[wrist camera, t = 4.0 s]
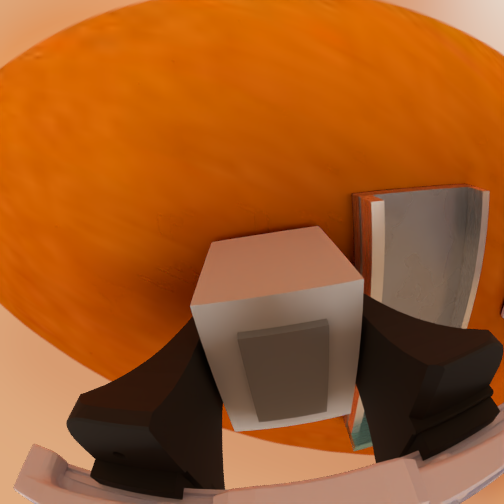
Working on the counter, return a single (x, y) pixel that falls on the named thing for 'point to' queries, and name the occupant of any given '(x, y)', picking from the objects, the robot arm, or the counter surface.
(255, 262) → the block
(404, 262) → the rail plate
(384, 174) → the counter surface
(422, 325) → the robot arm
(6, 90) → the counter surface
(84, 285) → the counter surface
